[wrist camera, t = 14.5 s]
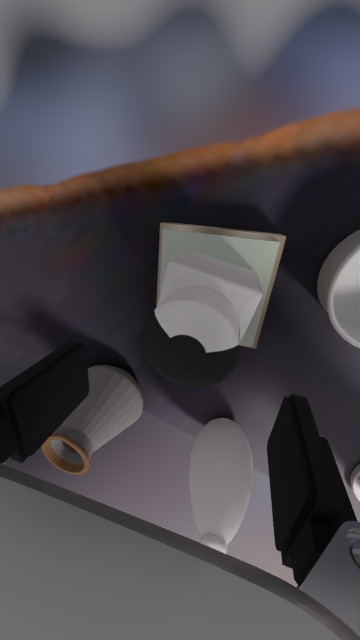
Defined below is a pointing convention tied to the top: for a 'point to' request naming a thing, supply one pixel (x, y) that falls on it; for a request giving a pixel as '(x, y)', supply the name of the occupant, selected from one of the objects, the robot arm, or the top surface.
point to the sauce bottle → (220, 481)
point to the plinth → (226, 258)
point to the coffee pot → (95, 419)
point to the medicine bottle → (200, 319)
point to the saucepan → (342, 288)
